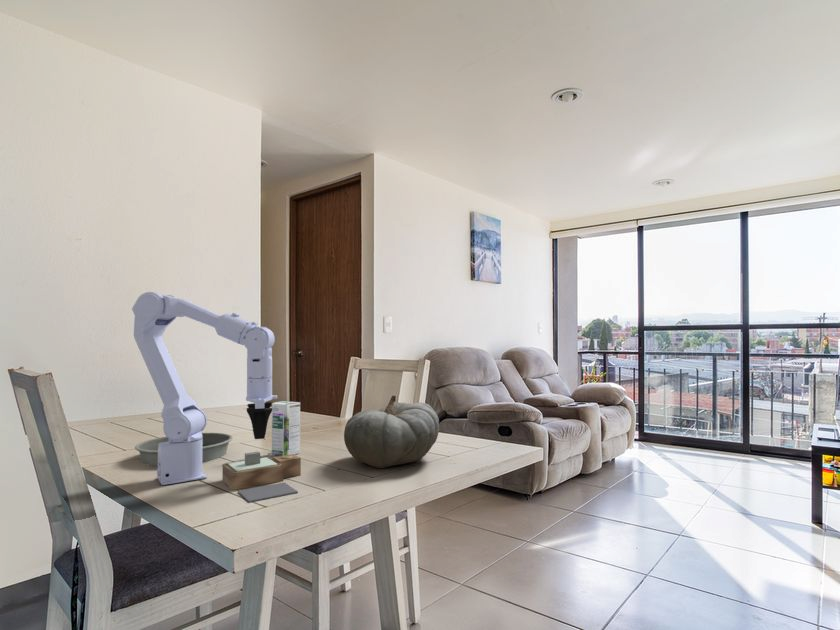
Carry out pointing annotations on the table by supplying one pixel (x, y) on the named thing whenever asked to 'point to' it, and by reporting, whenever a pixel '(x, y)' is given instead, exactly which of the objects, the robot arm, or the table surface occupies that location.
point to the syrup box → (286, 427)
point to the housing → (263, 473)
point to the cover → (251, 462)
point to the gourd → (392, 434)
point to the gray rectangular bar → (274, 454)
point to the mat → (267, 492)
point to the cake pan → (211, 447)
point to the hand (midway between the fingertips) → (259, 435)
